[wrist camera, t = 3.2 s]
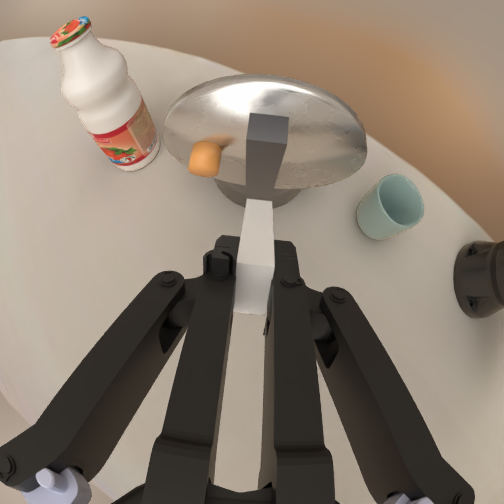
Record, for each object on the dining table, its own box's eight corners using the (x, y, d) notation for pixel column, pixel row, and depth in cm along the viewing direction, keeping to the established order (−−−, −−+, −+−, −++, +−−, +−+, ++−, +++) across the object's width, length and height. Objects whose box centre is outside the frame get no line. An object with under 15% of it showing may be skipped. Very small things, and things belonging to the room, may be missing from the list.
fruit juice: (171, 147, 43) (120, 10, 16) (128, 183, 42) (39, 65, 14) (144, 121, 45) (92, 1, 17) (104, 152, 43) (27, 46, 16)
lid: (332, 186, 29) (331, 214, 29) (186, 171, 29) (181, 198, 28) (402, 104, 13) (410, 147, 13) (139, 73, 13) (123, 114, 12)
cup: (342, 208, 42) (367, 182, 32) (377, 193, 43) (406, 167, 33) (364, 252, 41) (395, 236, 31) (398, 234, 42) (432, 215, 32)
